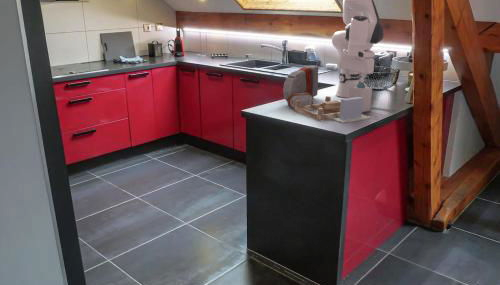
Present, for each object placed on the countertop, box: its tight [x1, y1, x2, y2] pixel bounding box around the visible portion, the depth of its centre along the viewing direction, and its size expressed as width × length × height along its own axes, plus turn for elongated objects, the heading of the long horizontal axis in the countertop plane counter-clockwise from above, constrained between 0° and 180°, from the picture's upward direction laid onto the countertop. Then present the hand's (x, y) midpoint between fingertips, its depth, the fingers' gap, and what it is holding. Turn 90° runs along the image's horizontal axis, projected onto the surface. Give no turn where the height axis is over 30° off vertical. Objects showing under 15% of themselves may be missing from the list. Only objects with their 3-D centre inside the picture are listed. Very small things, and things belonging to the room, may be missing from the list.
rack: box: [294, 95, 340, 122], centre depth 222 cm, size 22×21×6 cm
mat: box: [332, 114, 372, 124], centre depth 213 cm, size 19×7×1 cm, turn 120°
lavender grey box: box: [339, 97, 363, 120], centre depth 211 cm, size 3×12×10 cm, turn 120°
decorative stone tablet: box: [282, 64, 319, 102], centre depth 244 cm, size 19×6×30 cm
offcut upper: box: [321, 100, 341, 109], centre depth 224 cm, size 4×9×3 cm, turn 115°
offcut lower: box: [320, 106, 340, 114], centre depth 225 cm, size 5×11×3 cm, turn 62°
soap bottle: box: [349, 75, 373, 113], centre depth 228 cm, size 9×9×19 cm
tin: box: [286, 93, 315, 110], centre depth 232 cm, size 15×3×8 cm, turn 109°
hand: (354, 80), depth 207 cm, fingers open, 8 cm apart
